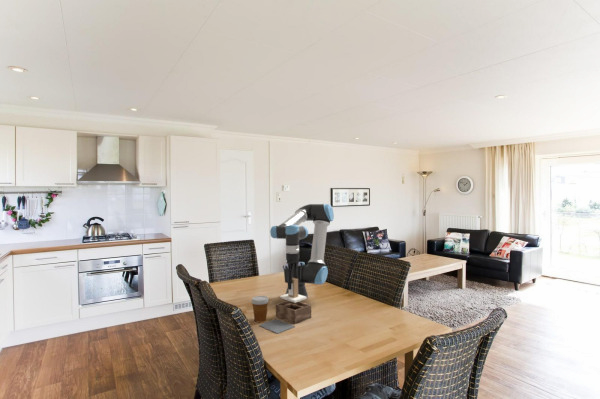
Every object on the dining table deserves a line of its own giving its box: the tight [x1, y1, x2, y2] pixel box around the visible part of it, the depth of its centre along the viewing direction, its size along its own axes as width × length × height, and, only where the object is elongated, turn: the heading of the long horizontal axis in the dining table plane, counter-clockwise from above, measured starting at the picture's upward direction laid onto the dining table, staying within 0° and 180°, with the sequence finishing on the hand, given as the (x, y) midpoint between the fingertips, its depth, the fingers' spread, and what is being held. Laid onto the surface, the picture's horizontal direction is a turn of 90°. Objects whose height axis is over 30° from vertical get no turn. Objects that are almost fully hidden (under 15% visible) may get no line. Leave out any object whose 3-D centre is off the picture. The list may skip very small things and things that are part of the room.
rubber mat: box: [258, 318, 296, 335], centre depth 173 cm, size 15×12×1 cm
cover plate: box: [280, 278, 308, 303], centre depth 186 cm, size 12×9×11 cm
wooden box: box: [275, 300, 312, 325], centre depth 186 cm, size 16×13×7 cm
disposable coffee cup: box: [251, 295, 270, 323], centre depth 183 cm, size 10×10×12 cm
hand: (293, 294), depth 186 cm, fingers closed on cover plate, 3 cm apart
